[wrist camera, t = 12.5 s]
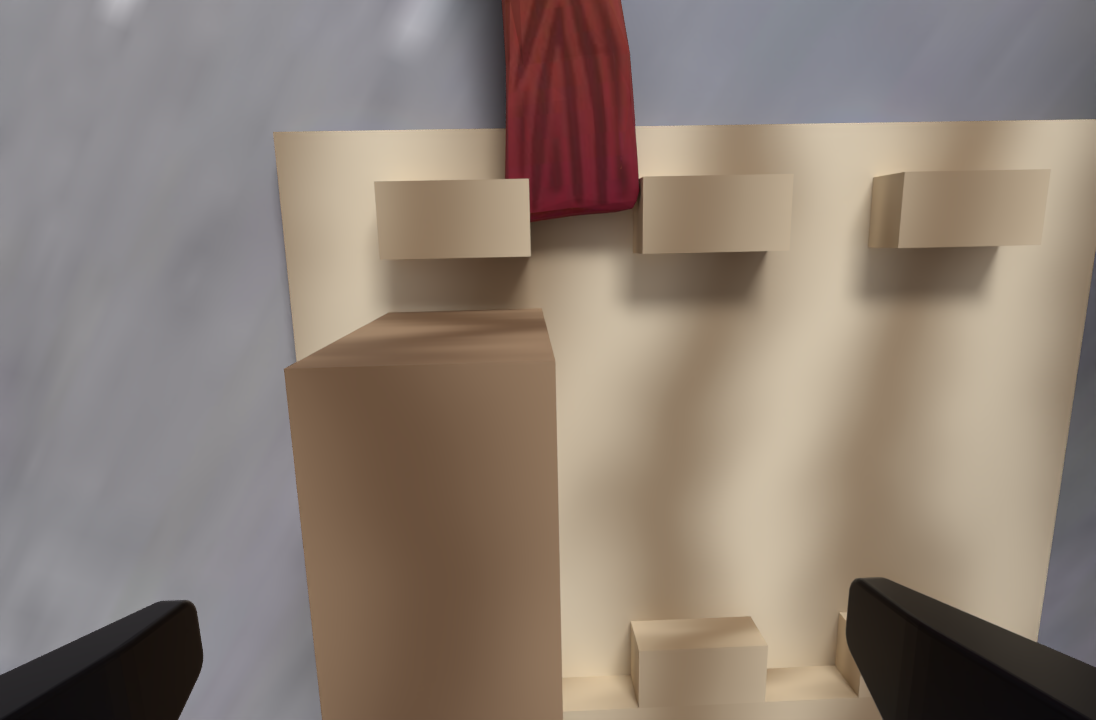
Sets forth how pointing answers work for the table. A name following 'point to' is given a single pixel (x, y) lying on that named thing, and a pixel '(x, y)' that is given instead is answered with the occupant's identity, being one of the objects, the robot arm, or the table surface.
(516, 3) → the sign
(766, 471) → the birch notch board
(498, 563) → the brown wooden box
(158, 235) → the table surface
